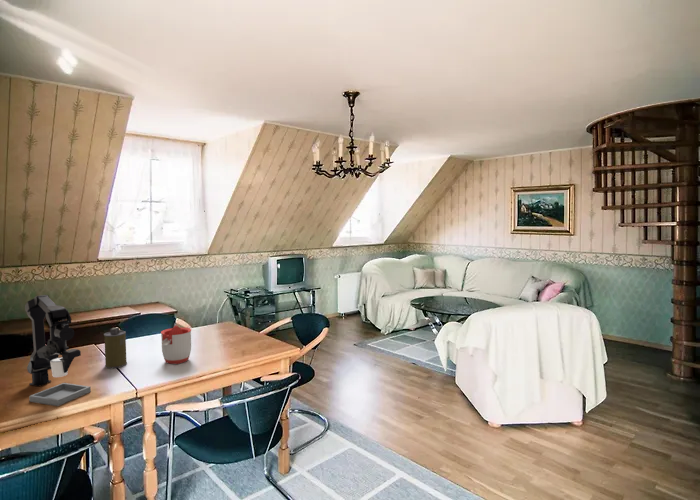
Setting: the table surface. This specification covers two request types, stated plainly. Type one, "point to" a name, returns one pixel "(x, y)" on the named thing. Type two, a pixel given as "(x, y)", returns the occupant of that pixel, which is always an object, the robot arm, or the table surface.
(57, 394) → the tray
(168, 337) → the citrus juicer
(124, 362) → the canister
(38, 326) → the robot arm
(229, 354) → the table surface
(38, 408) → the table surface
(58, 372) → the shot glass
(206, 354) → the table surface
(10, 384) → the table surface
